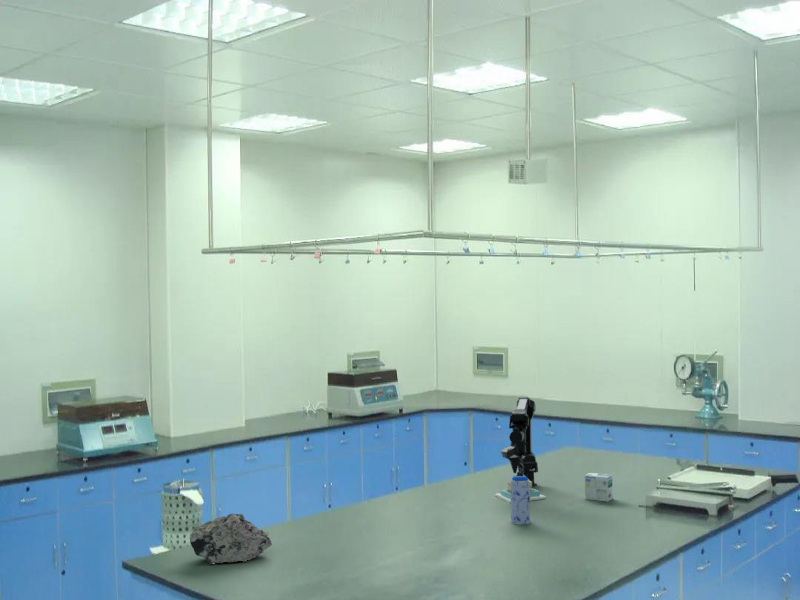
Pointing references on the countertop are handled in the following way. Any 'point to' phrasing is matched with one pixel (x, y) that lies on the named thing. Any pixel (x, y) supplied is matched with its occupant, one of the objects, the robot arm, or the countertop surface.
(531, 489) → the key block
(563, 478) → the countertop surface
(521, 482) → the aerosol can
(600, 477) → the light bulb box
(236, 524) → the mineral sample
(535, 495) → the keyed cradle
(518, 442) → the robot arm
